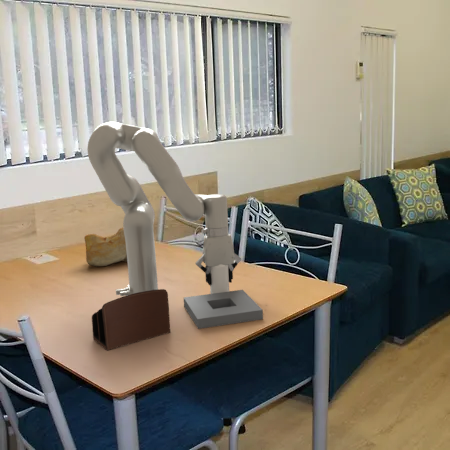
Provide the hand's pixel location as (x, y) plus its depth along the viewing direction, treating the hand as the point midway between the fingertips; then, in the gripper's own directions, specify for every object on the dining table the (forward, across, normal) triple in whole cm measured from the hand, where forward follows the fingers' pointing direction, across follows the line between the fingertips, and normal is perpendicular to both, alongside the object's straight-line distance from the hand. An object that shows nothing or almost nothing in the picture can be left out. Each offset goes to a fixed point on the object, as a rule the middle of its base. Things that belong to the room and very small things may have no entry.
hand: (219, 282), depth 198 cm
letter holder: (+5, -33, -25) cm, 42 cm away
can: (+4, 0, 0) cm, 4 cm away
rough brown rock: (+4, -31, +58) cm, 66 cm away
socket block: (+4, -4, -17) cm, 18 cm away
